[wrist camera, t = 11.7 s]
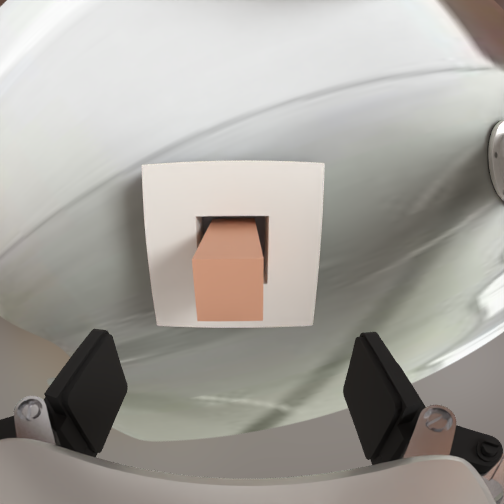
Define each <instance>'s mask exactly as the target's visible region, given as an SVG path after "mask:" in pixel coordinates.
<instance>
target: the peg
mask: <svg viewBox="0 0 504 504" xmlns="http://www.w3.org/2000/svg"><path fill="white" fill-rule="evenodd" d="M192 268H193V280H194V291H195V301H196V311H197V321H263V269H264V258H263V254H262V249H261V245H260V240H259V236H258V231H257V227H256V223H255V218H228V219H212V221H211V223H210V225H209V227H208V229H207V231H206V233H205V235H204V236H203V238H202V240H201V242H200V244H199V246H198V248H197V250H196V252H195V254H194V256H193V258H192Z"/></svg>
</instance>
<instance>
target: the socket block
mask: <svg viewBox="0 0 504 504" xmlns="http://www.w3.org/2000/svg"><path fill="white" fill-rule="evenodd" d="M142 188H143V207H144V222H145V234H146V245H147V255H148V264H149V273H150V281H151V288H152V295H153V302H154V309H155V315H156V321H157V326H173V327H209V328H256V327H292V326H313V318H314V310H315V301H316V291H317V281H318V270H319V258H320V245H321V231H322V214H323V193H324V163H314V162H293V161H196V162H175V163H160V164H146V165H142ZM228 218H255V223H256V227H257V231H258V236H259V240H260V245H261V249H262V254H263V258H264V269H263V321H197V311H196V301H195V291H194V280H193V268H192V258H193V256H194V254H195V252H196V250H197V248H198V246H199V244H200V242H201V240H202V238H203V236H204V235H205V233H206V231H207V229H208V227H209V225H210V223H211V221H212V219H228Z"/></svg>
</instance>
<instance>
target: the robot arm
mask: <svg viewBox="0 0 504 504" xmlns="http://www.w3.org/2000/svg"><path fill="white" fill-rule="evenodd" d="M488 159H489V169H490V175H491V179H492V182H493V185H494V188H495V190H496V192H497V194H498V196H499V197H500V198H501V199H502V200H503V201H504V120H502V121H499V122H498V123H497V124H496V125H495V127H494V128H493V131H492V133H491V137H490V141H489V149H488ZM126 393H127V382H126V379H125V376H124V373H123V370H122V367H121V364H120V361H119V357H118V354H117V350H116V347H115V343H114V340H113V337H112V335H111V334H109V332H108V331H106V330H99V329H93V330H92V331H91V332H90V334H89V335H88V336H87V337H86V339H85V340H84V341H83V342H82V344H81V345H80V346H79V348H78V349H77V350H76V351H75V353H74V354H73V355H72V357H71V358H70V359H69V361H68V362H67V363H66V365H65V366H64V367H63V369H62V370H61V371H60V373H59V374H58V376H57V377H56V378H55V380H54V381H53V382H52V384H51V385H50V387H49V388H48V389H47V391H46V393H45V396H46V397H45V399H44V400H43V399H42V398H40V397H38V396H28V397H25V398H23V399H22V400H20V401H19V402H18V403H17V404H16V406H15V408H14V416H12V417H9V418H5V419H2V420H0V504H504V454H503V449H502V445H501V443H500V442H499V441H498V440H497V439H496V438H494V437H492V436H490V435H486V434H482V433H479V432H476V431H473V430H469V429H466V428H463V427H460V426H457V425H456V417H455V415H454V413H453V412H452V411H451V410H450V409H448V408H447V407H444V406H442V405H430V406H428V407H425V405H424V404H423V402H422V400H421V399H420V397H419V396H418V394H417V392H416V391H415V389H414V388H413V386H412V384H411V383H410V381H409V380H408V378H407V376H406V375H405V373H404V372H403V370H402V369H401V367H400V366H399V364H398V363H397V362H396V361H395V359H394V358H393V356H392V355H391V353H390V352H389V350H388V349H387V347H386V346H385V344H384V343H383V341H382V340H381V338H380V337H379V335H378V334H377V333H376V332H368V333H361V335H360V337H357V338H356V340H355V344H354V348H353V353H352V357H351V361H350V365H349V369H348V373H347V376H346V380H345V384H344V388H343V393H344V397H345V400H346V403H347V406H348V408H349V411H350V414H351V416H352V419H353V422H354V425H355V428H356V431H357V433H358V436H359V439H360V442H361V445H362V448H363V451H364V454H365V457H366V458H367V459H368V460H369V459H371V462H372V465H371V466H366V467H361V468H356V469H350V470H344V471H338V472H332V473H326V474H318V475H309V476H299V477H287V478H266V479H228V478H210V477H197V476H187V475H179V474H171V473H164V472H158V471H152V470H146V469H141V468H136V467H131V466H127V465H122V464H118V463H114V462H110V461H106V460H103V459H99V458H96V455H97V453H100V452H101V451H102V449H103V446H104V444H105V442H106V439H107V436H108V434H109V432H110V430H111V427H112V425H113V422H114V420H115V418H116V415H117V413H118V411H119V409H120V406H121V404H122V402H123V400H124V397H125V395H126Z"/></svg>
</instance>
